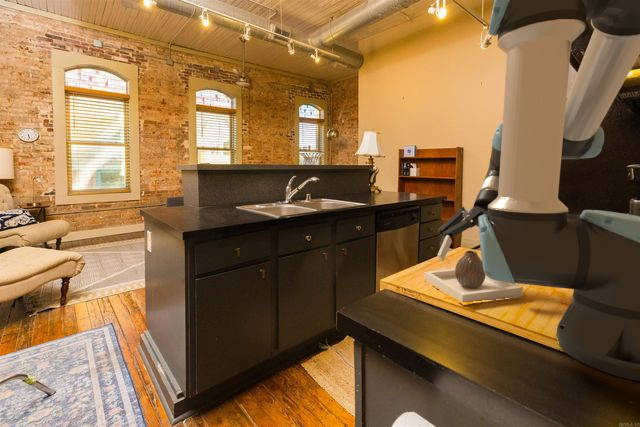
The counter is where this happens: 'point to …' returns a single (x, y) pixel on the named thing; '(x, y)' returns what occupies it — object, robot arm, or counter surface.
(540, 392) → the counter surface
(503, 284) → the tray
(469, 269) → the vase
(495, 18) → the robot arm
